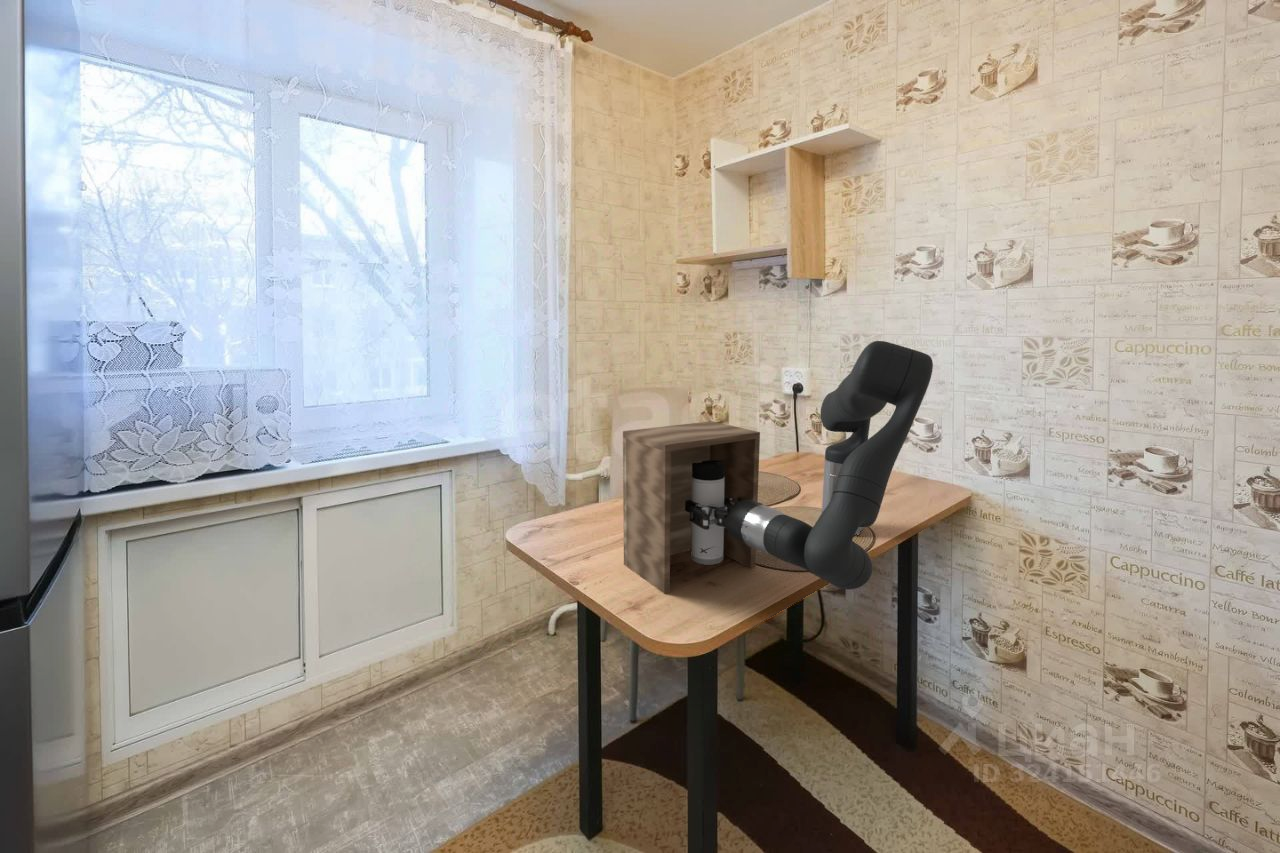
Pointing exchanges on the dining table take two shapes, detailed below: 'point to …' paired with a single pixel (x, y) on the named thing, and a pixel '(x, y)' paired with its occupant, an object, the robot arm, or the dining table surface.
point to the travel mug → (705, 492)
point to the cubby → (679, 490)
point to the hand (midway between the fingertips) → (700, 502)
